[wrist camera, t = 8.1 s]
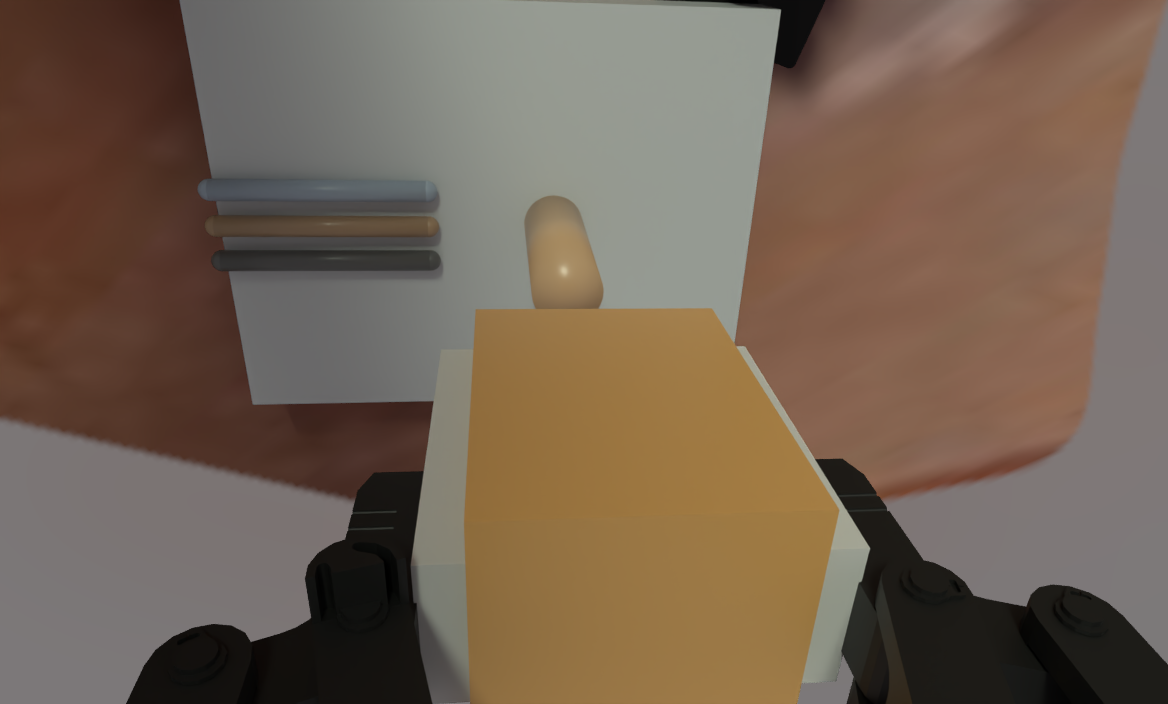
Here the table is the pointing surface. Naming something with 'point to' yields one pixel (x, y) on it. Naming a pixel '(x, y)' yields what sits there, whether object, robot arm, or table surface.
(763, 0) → the black power adapter
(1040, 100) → the table surface
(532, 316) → the cardboard-colored cube
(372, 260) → the junction plate
